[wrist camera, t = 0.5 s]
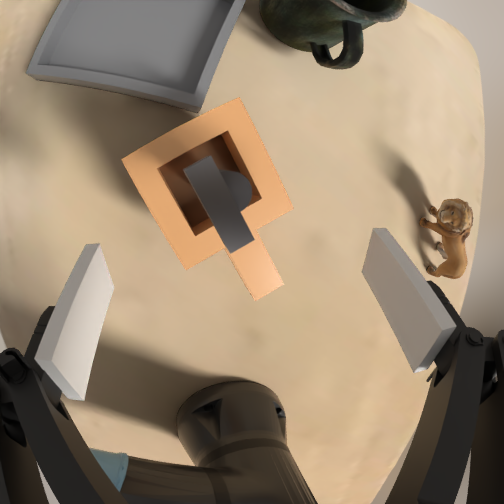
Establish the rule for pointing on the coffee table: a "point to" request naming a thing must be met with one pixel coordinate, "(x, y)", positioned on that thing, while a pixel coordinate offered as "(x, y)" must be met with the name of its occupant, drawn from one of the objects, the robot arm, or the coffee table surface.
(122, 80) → the tray
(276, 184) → the orange square frame paddle
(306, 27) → the mug
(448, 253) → the lion figurine
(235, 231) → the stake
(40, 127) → the coffee table surface
